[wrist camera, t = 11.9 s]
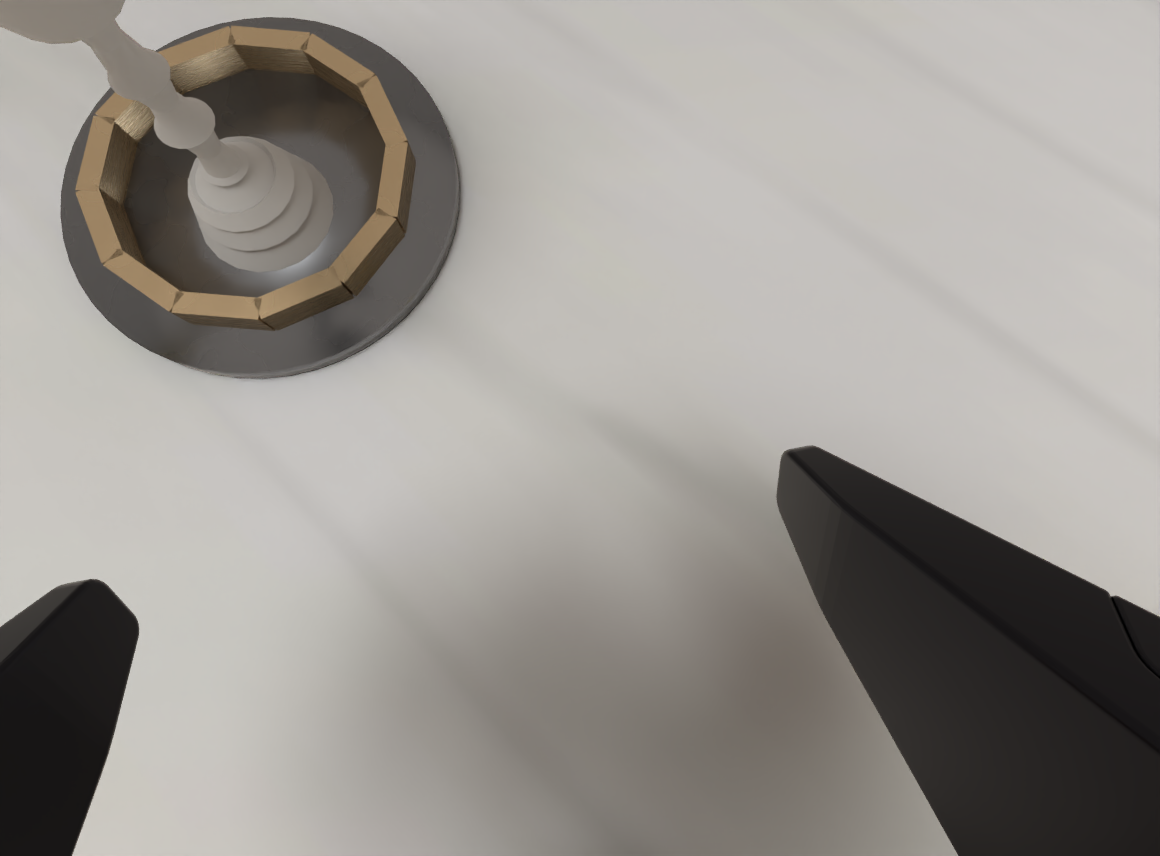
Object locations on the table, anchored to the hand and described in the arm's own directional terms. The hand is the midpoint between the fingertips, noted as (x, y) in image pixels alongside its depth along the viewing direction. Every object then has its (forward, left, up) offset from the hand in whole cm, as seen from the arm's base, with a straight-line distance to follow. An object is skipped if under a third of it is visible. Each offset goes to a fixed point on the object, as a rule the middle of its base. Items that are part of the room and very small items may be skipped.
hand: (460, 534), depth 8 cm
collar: (+5, +16, -14) cm, 22 cm away
